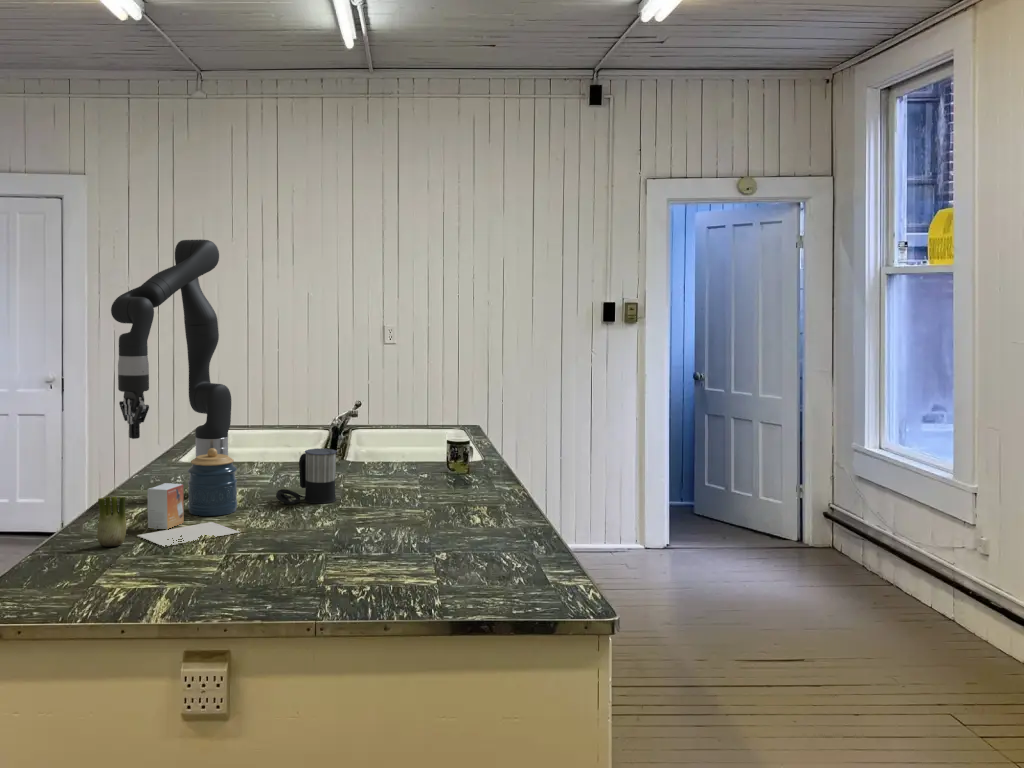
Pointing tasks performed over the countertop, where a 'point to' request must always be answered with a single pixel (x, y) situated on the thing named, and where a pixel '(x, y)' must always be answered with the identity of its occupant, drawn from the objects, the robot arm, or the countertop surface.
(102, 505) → the fennel bulb
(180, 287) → the robot arm
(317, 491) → the milk frother
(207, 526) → the mat
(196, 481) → the canister
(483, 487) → the countertop surface
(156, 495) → the small box
